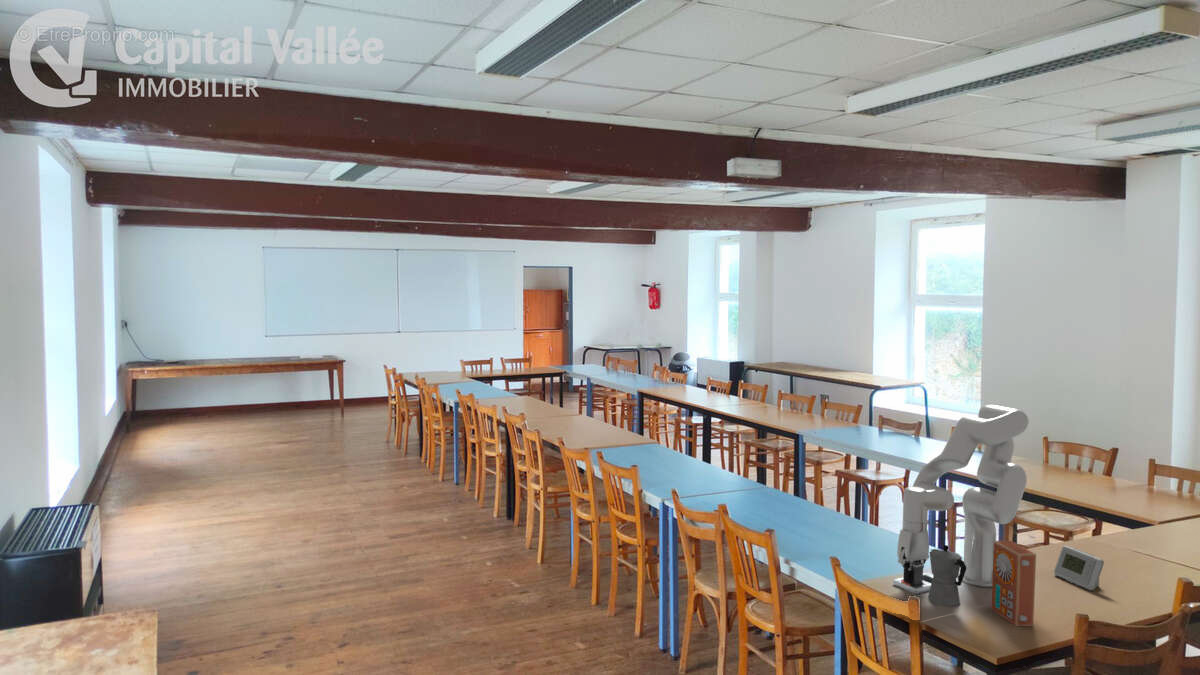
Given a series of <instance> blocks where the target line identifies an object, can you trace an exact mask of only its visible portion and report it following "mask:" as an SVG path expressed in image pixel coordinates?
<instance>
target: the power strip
mask: <svg viewBox="0 0 1200 675" xmlns="http://www.w3.org/2000/svg"><path fill="white" fill-rule="evenodd" d="M932 579H933V574H932V573H930V572H923V585H920V586H916V587H915V586H913V585H911V583H909V582H906V581H904V580H903V577H899V578H894V579H893V581H892V584H893V585H892V586H895V587H898V588H900V589H903V590H905V591H907V592H910V593H912V594H914V595H918V594H923V593H927V592H929V591H930V587H931V582H932Z"/></svg>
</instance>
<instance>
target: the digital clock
mask: <svg viewBox="0 0 1200 675" xmlns="http://www.w3.org/2000/svg"><path fill="white" fill-rule="evenodd" d="M1059 553H1060V554H1059V556H1058V558H1057V561H1056V565H1055V567H1054V571H1053V573H1054V575H1055V576H1056V577H1058V578H1060V579H1062V578H1063V579H1062V580H1064V579H1065V580H1064V581H1066V580H1067V581H1066V582H1068V581H1069V582H1068V583H1070V582H1072V583H1071V584H1073V583H1074V584H1073V585H1075V584H1076V586H1077V585H1079V586H1081V587H1080V588H1082V587H1083V588H1082V589H1086V590H1087V591H1092V592H1093V591H1094V590H1096V588H1098V587H1099V586H1100V576H1101V574H1102V570H1103V567H1104V564H1105V563H1104V560H1103V559H1101V558H1099V557H1097V556H1095V555H1093V554H1090V553H1088V552H1086V551H1082V550H1080V549H1077V548H1074V547H1071V546H1068V545H1063V546H1062V548H1061V551H1060V552H1059ZM1079 586H1078V587H1079ZM1097 586H1098V587H1097Z"/></svg>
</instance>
